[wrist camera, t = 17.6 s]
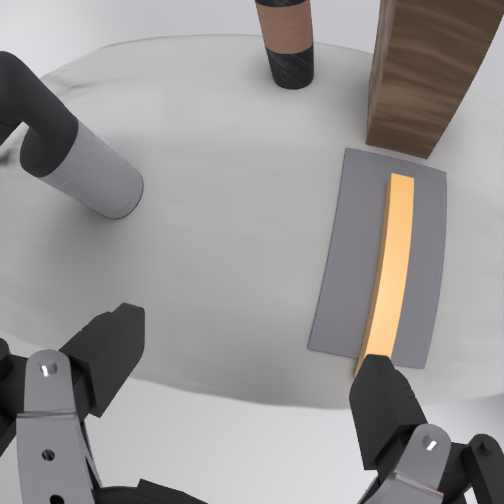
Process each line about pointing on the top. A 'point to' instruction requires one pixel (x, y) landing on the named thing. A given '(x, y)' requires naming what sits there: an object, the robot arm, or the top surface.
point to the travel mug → (288, 40)
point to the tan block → (390, 269)
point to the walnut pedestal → (425, 68)
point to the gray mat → (367, 255)
